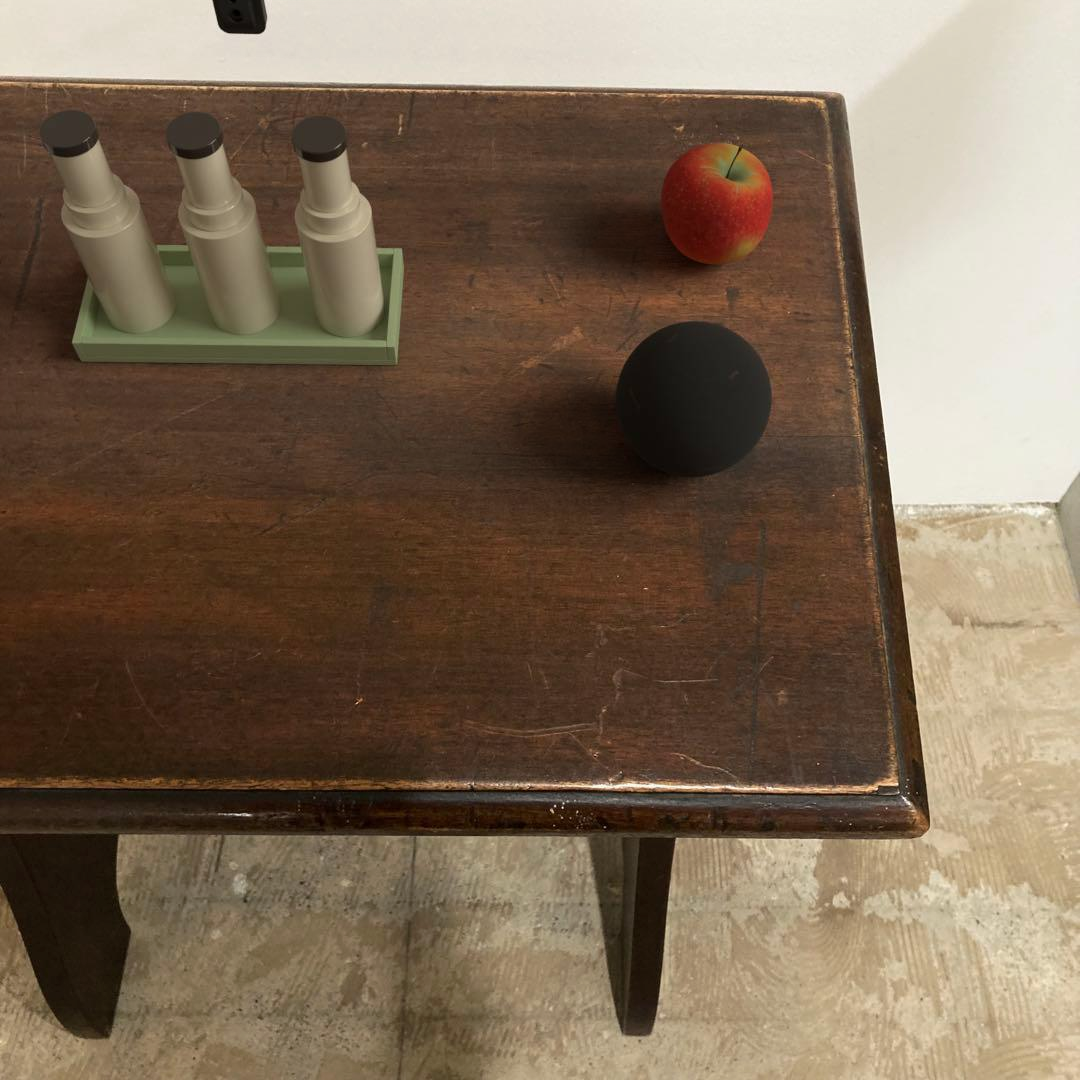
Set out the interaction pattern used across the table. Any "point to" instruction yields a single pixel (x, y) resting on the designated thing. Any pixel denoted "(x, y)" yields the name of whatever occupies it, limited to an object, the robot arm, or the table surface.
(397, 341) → the tray
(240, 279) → the bottle
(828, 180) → the table surface
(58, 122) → the bottle
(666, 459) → the black ball
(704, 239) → the apple
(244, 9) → the robot arm
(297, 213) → the bottle
